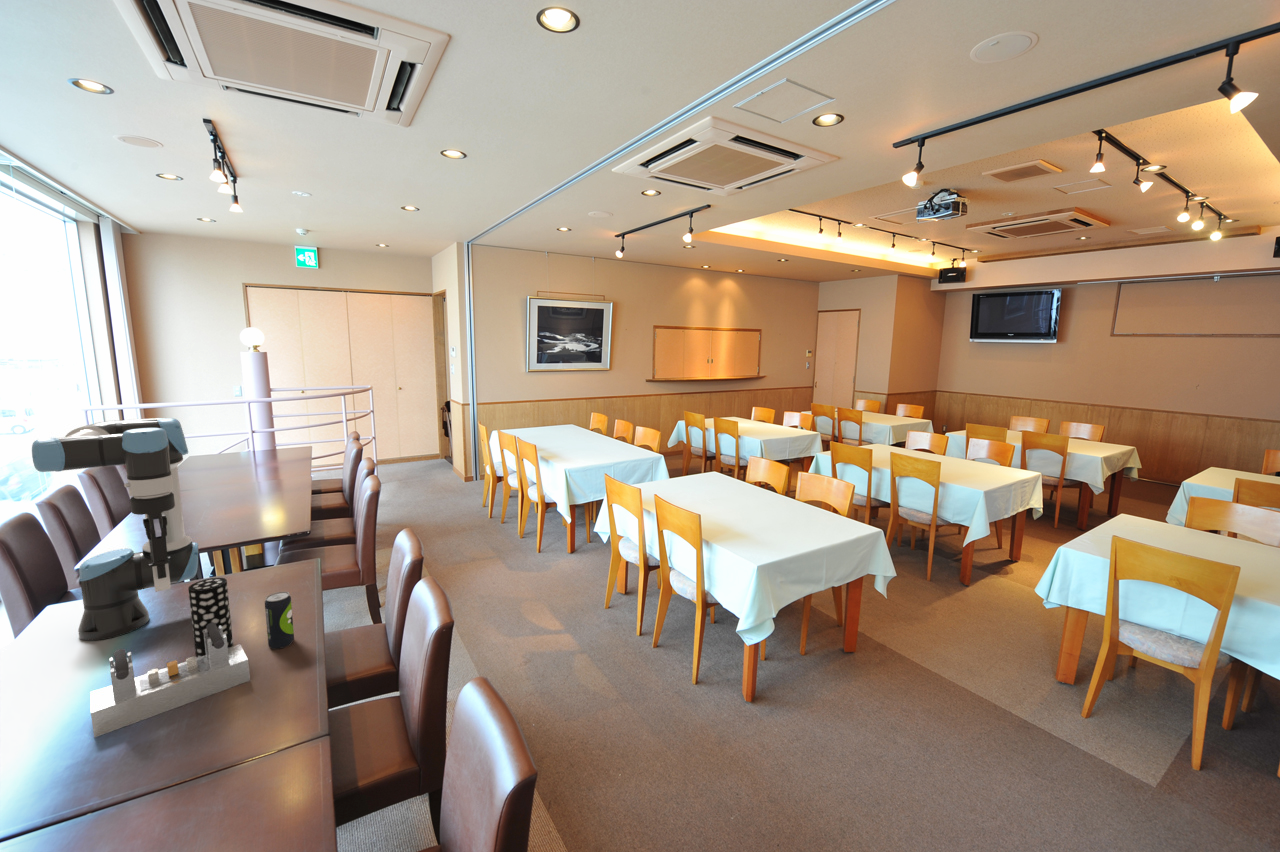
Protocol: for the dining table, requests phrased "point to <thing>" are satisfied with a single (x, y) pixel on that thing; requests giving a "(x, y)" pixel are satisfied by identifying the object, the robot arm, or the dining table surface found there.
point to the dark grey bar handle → (121, 664)
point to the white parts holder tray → (167, 686)
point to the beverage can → (279, 620)
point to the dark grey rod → (215, 635)
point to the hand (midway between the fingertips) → (163, 589)
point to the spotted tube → (209, 610)
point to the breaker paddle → (172, 668)
